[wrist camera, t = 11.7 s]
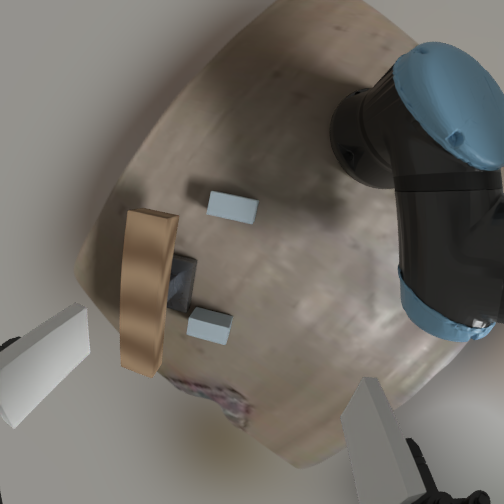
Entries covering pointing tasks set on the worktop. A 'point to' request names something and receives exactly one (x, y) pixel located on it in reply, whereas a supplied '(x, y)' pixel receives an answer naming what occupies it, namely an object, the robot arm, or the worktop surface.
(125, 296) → the plank
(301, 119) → the worktop surface
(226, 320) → the posts
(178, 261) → the fulcrum
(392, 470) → the robot arm
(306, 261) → the worktop surface
